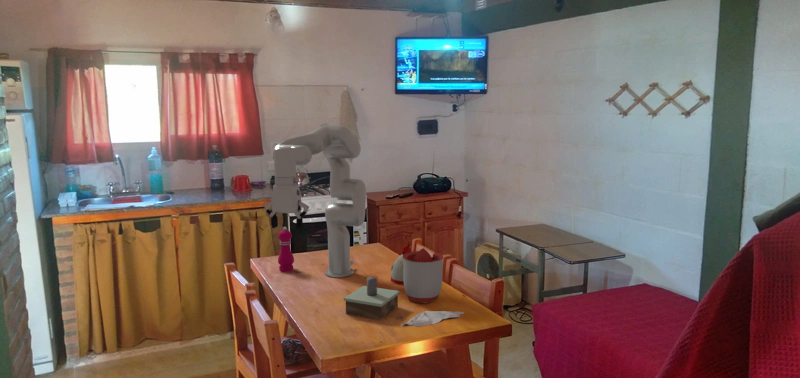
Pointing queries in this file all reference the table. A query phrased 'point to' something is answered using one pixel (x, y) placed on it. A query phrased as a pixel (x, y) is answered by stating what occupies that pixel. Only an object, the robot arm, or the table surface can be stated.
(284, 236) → the pepper mill
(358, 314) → the box
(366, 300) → the lid
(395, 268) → the kitchen timer
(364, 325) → the table surface
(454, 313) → the cloth
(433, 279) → the citrus juicer
